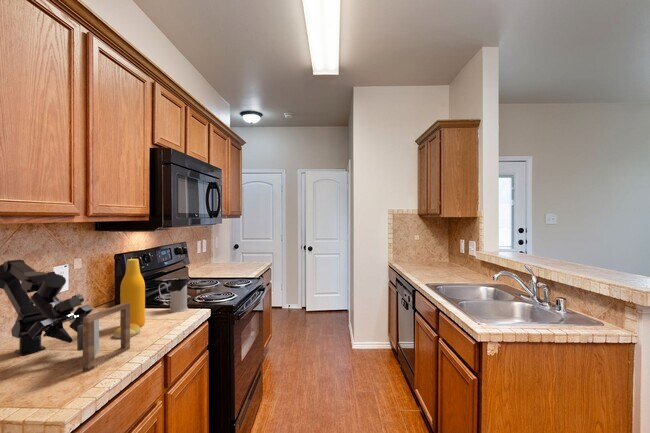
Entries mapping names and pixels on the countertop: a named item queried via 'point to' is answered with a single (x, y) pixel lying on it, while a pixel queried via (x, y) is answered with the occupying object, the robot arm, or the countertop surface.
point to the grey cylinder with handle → (177, 295)
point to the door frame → (89, 335)
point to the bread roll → (133, 331)
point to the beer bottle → (133, 292)
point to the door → (96, 336)
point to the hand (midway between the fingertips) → (78, 338)
